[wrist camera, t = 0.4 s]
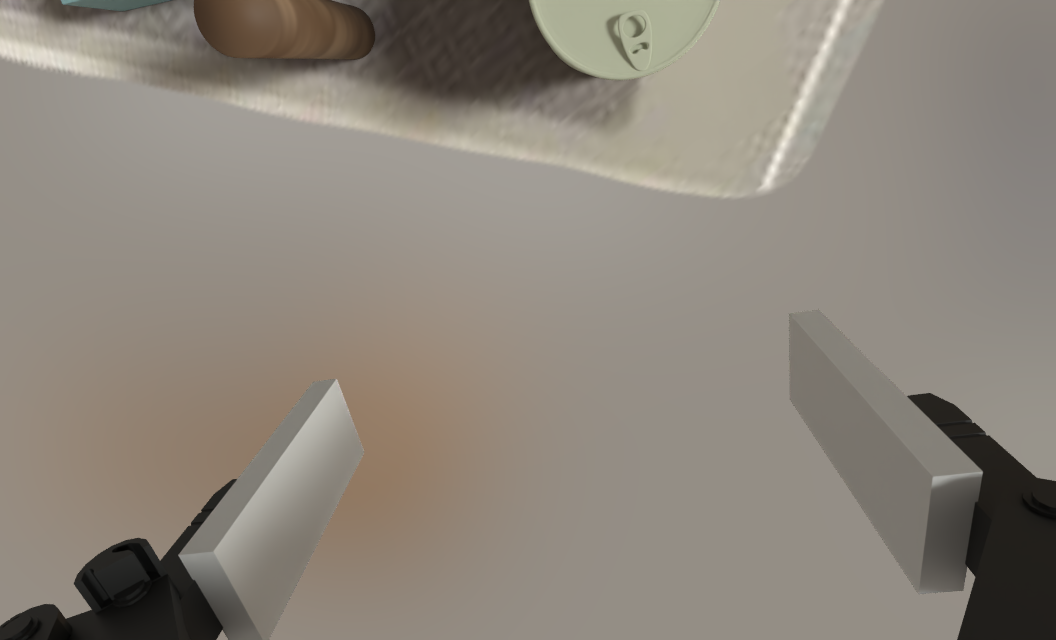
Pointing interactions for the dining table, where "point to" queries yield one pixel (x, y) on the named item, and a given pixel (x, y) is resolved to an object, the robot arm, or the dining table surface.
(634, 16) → the can
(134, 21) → the dining table surface
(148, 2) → the block
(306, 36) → the dowel
